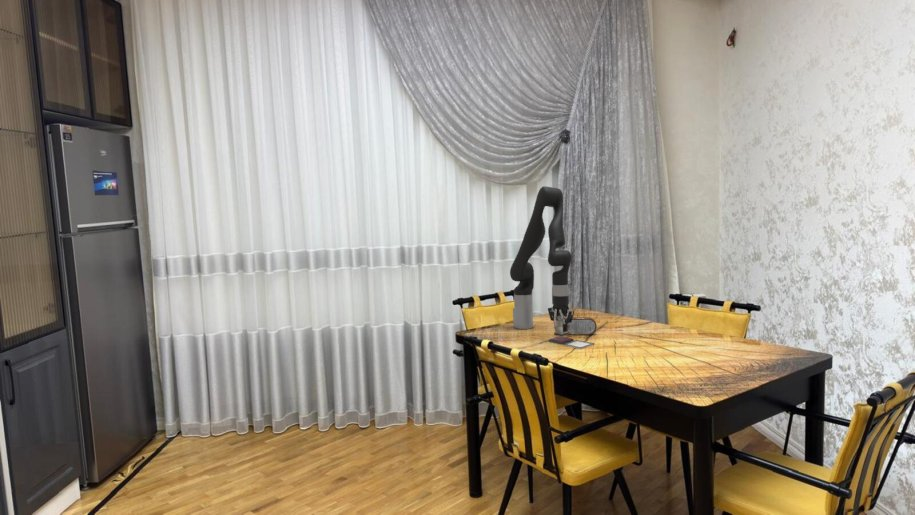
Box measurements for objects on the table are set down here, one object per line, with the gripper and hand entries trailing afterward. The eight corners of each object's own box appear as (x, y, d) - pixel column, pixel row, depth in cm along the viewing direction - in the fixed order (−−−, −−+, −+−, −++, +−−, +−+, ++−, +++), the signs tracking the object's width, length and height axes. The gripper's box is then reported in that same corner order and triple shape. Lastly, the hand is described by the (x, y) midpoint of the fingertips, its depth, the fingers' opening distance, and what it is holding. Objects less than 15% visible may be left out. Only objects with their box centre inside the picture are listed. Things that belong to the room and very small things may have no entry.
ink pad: (548, 341, 278) (548, 338, 278) (559, 338, 284) (559, 335, 283) (562, 344, 272) (562, 341, 272) (573, 341, 278) (573, 338, 277)
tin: (596, 333, 290) (596, 316, 289) (597, 335, 287) (596, 317, 286) (564, 334, 292) (564, 316, 291) (565, 335, 288) (564, 318, 287)
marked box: (562, 345, 271) (562, 344, 271) (576, 340, 278) (576, 339, 277) (581, 349, 263) (581, 348, 263) (594, 344, 270) (594, 343, 270)
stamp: (554, 334, 278) (553, 315, 277) (560, 332, 281) (559, 313, 280) (562, 336, 274) (561, 316, 273) (568, 334, 277) (567, 314, 276)
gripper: (543, 293, 278) (543, 330, 280) (567, 297, 268) (568, 334, 270) (553, 291, 283) (554, 327, 285) (578, 294, 273) (578, 331, 275)
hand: (561, 330), depth 277 cm, fingers closed on stamp, 4 cm apart
